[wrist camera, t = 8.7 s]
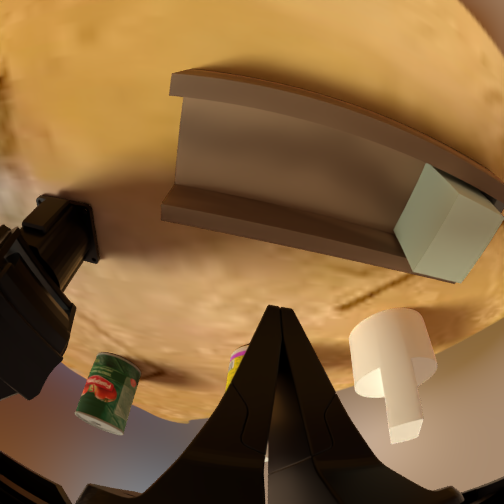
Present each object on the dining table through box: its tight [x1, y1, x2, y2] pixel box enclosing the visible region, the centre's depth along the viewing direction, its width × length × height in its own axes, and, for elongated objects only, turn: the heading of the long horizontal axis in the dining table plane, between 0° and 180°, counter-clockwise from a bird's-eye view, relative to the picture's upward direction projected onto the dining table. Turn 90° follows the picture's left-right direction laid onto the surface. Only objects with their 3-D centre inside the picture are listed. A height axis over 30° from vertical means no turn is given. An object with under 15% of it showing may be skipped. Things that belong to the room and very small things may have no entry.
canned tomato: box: [75, 352, 141, 435], centre depth 36 cm, size 8×8×11 cm
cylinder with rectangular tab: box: [349, 308, 437, 444], centre depth 24 cm, size 9×9×12 cm
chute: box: [161, 69, 504, 284], centre depth 17 cm, size 9×22×4 cm, turn 79°
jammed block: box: [393, 163, 504, 283], centre depth 16 cm, size 6×5×4 cm
